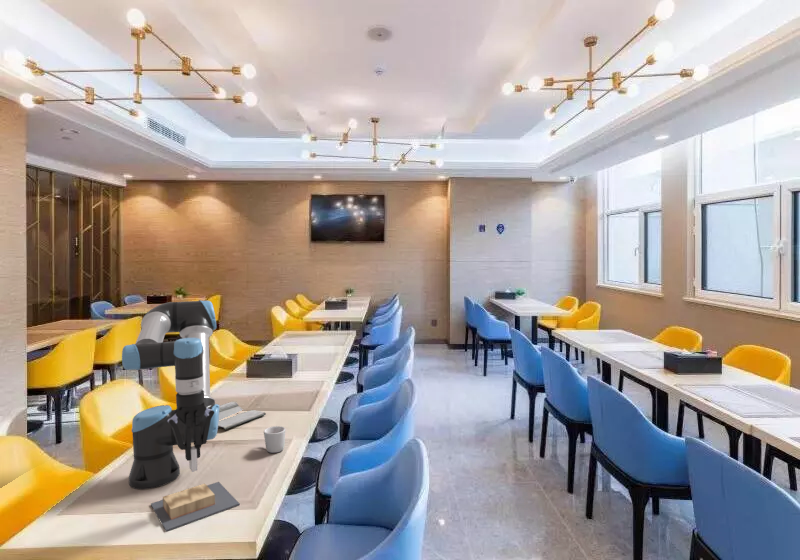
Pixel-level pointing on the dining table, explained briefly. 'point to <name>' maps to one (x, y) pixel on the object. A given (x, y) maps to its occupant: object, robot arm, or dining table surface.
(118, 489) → the dining table surface
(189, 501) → the tan block
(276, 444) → the cup
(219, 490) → the slate mat
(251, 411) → the mat
